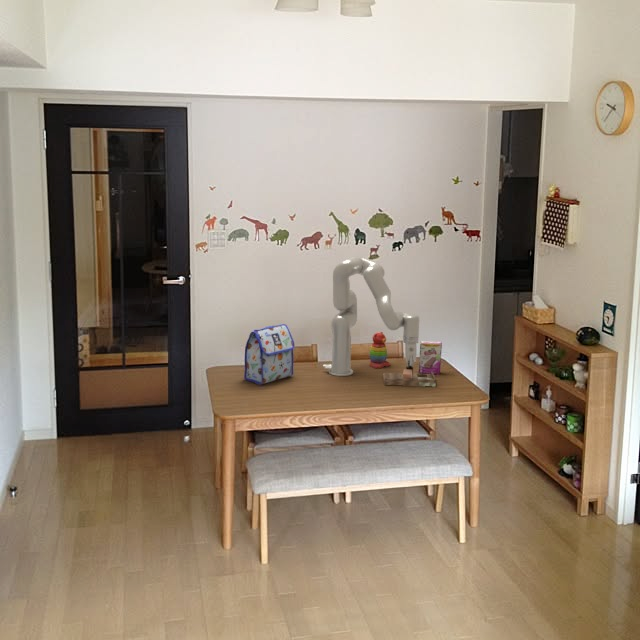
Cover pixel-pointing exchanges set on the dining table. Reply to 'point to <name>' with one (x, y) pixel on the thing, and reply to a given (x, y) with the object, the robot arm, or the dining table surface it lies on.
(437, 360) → the candy bar box
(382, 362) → the stacking bear
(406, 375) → the block
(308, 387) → the dining table surface
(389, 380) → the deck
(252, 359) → the lunch bag
